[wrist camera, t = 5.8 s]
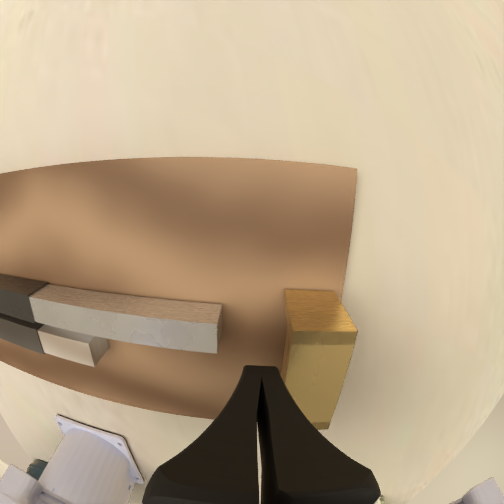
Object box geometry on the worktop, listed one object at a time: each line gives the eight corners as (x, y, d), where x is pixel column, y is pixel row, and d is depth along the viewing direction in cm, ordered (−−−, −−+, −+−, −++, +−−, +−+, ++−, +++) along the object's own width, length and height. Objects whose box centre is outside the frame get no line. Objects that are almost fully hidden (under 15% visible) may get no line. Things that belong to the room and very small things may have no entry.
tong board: (309, 410, 18) (316, 450, 14) (2, 352, 18) (-20, 372, 14) (349, 168, 14) (379, 168, 10) (-31, 181, 14) (-63, 187, 10)
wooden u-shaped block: (316, 380, 15) (327, 429, 12) (273, 380, 15) (276, 430, 12) (334, 291, 14) (357, 331, 10) (284, 289, 14) (293, 331, 10)
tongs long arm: (221, 332, 15) (216, 355, 13) (0, 295, 15) (-17, 306, 13) (222, 302, 14) (216, 322, 12) (-5, 272, 14) (-23, 282, 12)
